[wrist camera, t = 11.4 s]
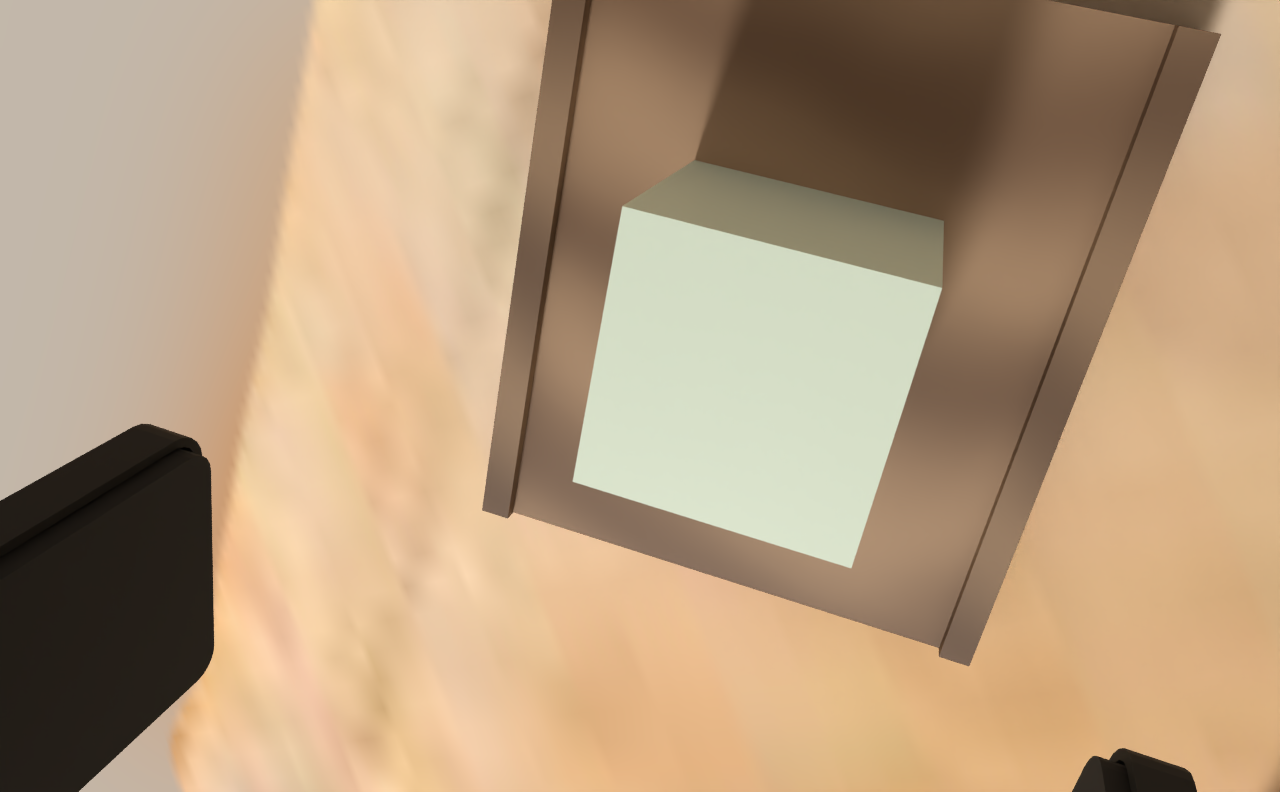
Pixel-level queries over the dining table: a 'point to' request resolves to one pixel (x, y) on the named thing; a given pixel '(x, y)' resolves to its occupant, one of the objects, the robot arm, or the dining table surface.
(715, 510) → the sage block
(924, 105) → the board
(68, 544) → the robot arm
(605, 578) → the dining table surface
